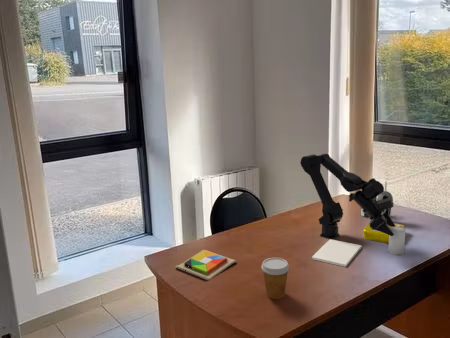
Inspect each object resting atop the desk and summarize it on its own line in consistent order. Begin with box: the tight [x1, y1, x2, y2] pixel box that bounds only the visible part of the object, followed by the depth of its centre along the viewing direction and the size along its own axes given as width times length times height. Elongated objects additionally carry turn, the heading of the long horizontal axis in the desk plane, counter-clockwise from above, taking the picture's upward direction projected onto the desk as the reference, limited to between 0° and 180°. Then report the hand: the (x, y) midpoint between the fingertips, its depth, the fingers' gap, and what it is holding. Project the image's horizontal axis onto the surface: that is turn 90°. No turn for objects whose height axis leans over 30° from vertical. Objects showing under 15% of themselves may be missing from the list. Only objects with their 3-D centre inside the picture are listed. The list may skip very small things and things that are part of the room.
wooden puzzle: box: [175, 249, 237, 281], centre depth 178 cm, size 18×19×4 cm
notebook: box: [311, 239, 362, 268], centre depth 184 cm, size 14×20×1 cm
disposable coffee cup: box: [261, 257, 290, 300], centre depth 154 cm, size 10×10×12 cm
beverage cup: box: [377, 181, 394, 217], centre depth 212 cm, size 7×7×20 cm
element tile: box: [362, 221, 405, 244], centre depth 199 cm, size 15×15×5 cm
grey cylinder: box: [388, 227, 406, 256], centre depth 182 cm, size 6×6×10 cm
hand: (393, 231), depth 181 cm, fingers open, 9 cm apart
